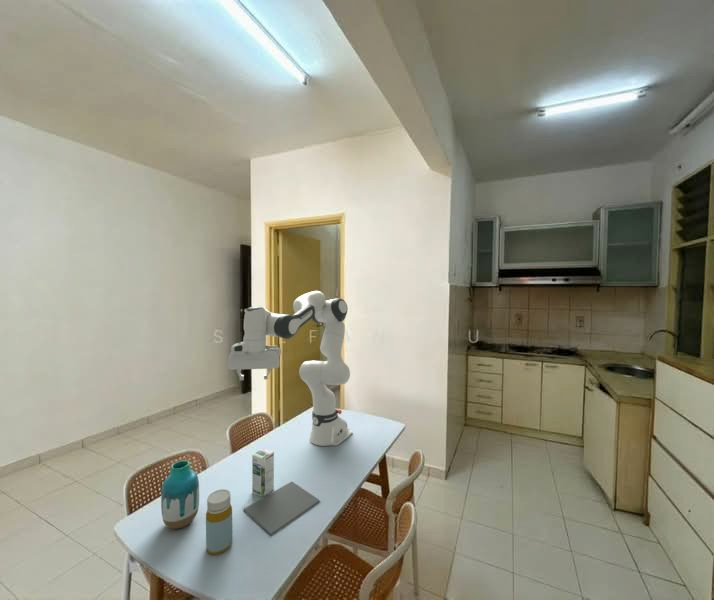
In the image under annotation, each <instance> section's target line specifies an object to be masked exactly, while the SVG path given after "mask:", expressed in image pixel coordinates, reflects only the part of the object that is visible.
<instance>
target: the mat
mask: <svg viewBox="0 0 714 600" xmlns="http://www.w3.org/2000/svg"><path fill="white" fill-rule="evenodd" d="M320 502H321V501H320V499H319V498H317V497H316V496H314V495H312V494H311V493H310V492H309V491H307V490H305V488H302V487H301V486H300V485H298V484H297V483H295V482H293V481H290V482H288V483H286V484H285V485H283V486H281V487H279V488H278V489H276V490H274V491H271V492H270V493H268V494H267V495H266V496H265V497H261V498H259V500H257V501H255V502H253V503H251V504H250V505H248V506H246V507H244V508H243V512H245V513H246V514H247V515H248V516H249V517H250V518H251V519H252V520H253V521H255V523H256V524H257V525H258V526H260V527H261V528H262V529H263V530H264V531H265V532H266V533H267V535H269V536H273V535H274V534H275V533H276V532H279V530H281V529H283V528H285V526H287V525H289V524H290V523H292V521H294V520H296V519H297V518H299V517H300V516H301V515H303V514H304V513H306V512H307V511H309V510H310V509H312V508H313V507H314V506H316V505H317V504H319V503H320Z"/></svg>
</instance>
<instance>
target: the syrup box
mask: <svg viewBox="0 0 714 600" xmlns="http://www.w3.org/2000/svg"><path fill="white" fill-rule="evenodd" d="M251 457H252V458H251V459H252V460H251V461H252V463H251V464H252V465H251V469H252V470H251V472H252V473H251V474H252V475H251V478H252V479H251V482H252V485H251V487H252V488H251V489H252V490H251V493H252V494H254V495H256V496H259V497H261V498H264V497H265V496H267V495H269V494H270V493H272V492H273V490H274V489H275V488H274V487H275V485H274V484H275V475H274V474H275V470H274V469H275V464H274V463H275V452H274V451H271V450H269V449H266V448H261V449H259V450H257V451H256V452H253V454H252V456H251Z"/></svg>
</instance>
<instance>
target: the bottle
mask: <svg viewBox="0 0 714 600" xmlns="http://www.w3.org/2000/svg"><path fill="white" fill-rule="evenodd" d="M231 500H232V499H231V492H230V490H228V489H225V488H224V489H223V488H221V489H218V490H215V491H213V492H211V493H210V494H209V495H208V496H207V500H206V503H207V505H206V506H207V507H206V509H207V510H206V513H205V538H206V539H205V541H206V542H205V544H206V545H205V547H206V551H207V552H208V553H209V554H210V555H212V556H213V555H220V554H223V553H224V552H226V551H227V550H228V549H229V548H230V547H231V546H232V544H233V506H232V504H231Z"/></svg>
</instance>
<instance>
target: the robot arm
mask: <svg viewBox="0 0 714 600" xmlns="http://www.w3.org/2000/svg"><path fill="white" fill-rule="evenodd" d="M292 307H293V311H294V314H284V313H283V314H282V313H281V314H280V313H273V312H271V311H269V310H268V309H266V307H265V306H263V305H253V306H250V307H247V308H246V310H245V312H244V316H243V317H244V318H243V331H244V335H243V339H242V340H243V341H239V342H237V343H234V344H233V345H232V346H231V348H230V351H231V352H230V353H229V354H228V358H227V366H226V368H227V369H228V370H229V371H232V370H234V371H235V370H236V373H237V375H238V377H239V381H244V380H245V378H244V377H245V374H242V373H241V372H242V370H266V371H267V372H266V373H265V374H264V375H263V380H268V379H269V374H271V369H278V368H279V367H280V356H281V355H282V354H281V353H282V352H281V351H282V349H281V347H279V346H278V345H267V336H270V337H276V338H277V337H278V338H281V339H285V340H290V339H292V338H293V337H294V336H295V335H296V334H297V332H298V331H299V330H300V329H301V328H302V327H303V326H305V324H307V323H308V322H309V321H310V320H312V321H313V322H314V323H316V324H323V323H325V329H324V331H323V334H322V337H321V342H320V346H319V350H320V353H321V354H322V355H323V356H324V357H326V358H327V359H326V360H325V361H324V360H307V361H306V360H305V361H304V362H303V363H302V364H301V365H300V367H299V370H298V371H299V373H298V374H299V377H300V380H302V381H303V382H304V383H305V384H306V386H308V388H309V390H310V393H311V397H312V414H311V416H312V418H311V419H312V423H311V425H312V426H311V430H310V431H311V432H310V436H309V441H310V443H311V444H312V445H315V446H321V447H325V446H327V447H328V446H339V445H340V444H341V443H342V442H344V441H345V440H346V439H348V438H349V437H350V436H352V435H353V431H352V429H350V428H349V427H348V422H347V421H346V420H345V419H344V418H342V417H341V416H339V415H341V414H342V412H343V411H342V410H341V409H339V408H338V409H336V395H335V393H334V392H333V391H332V390H331V389H329V388H328V387H327V385H329V386H330V385H332V386H340V385H346V383H348V382H349V379H350V376H351V371H350V367H349V366H348V365H347V364H346V362H345V361H344V360H343V357H342V347H343V343H344V340H345V339H344V338H345V331H346V327H345V323H344V322H343V321H345V319H346V317H347V313H348V304H347V302H346V301H345V300H344V299H343V298H340V297H339V298H337V297H335V298H333V299H329V300H326V296H325V294H324V293H323V292H321V291H319V290H314V291H310V292H307V293H304V294H302V295H300V296H298V297H297V298H296V299H295V300H294V301H293V303H292Z"/></svg>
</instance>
